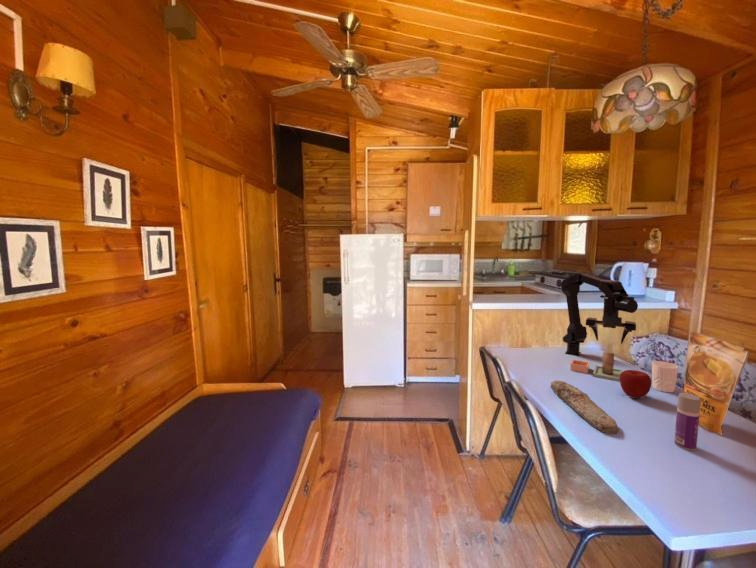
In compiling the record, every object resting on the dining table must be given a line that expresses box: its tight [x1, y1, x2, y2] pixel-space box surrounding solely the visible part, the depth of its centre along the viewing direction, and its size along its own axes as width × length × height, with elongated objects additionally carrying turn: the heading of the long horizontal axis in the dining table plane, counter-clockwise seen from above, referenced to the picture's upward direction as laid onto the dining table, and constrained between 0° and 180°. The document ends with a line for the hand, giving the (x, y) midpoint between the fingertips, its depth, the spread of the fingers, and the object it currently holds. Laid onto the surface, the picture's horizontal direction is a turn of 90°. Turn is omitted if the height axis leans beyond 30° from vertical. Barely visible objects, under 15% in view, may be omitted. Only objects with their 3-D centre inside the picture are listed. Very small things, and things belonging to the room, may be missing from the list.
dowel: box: [601, 351, 615, 375], centre depth 147 cm, size 4×4×9 cm
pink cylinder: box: [651, 360, 679, 393], centre depth 132 cm, size 8×8×10 cm
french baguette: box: [550, 380, 619, 435], centre depth 120 cm, size 35×5×10 cm
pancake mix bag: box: [683, 331, 749, 436], centre depth 107 cm, size 7×19×28 cm, turn 172°
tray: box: [592, 365, 623, 382], centre depth 147 cm, size 12×10×2 cm
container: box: [673, 392, 700, 451], centre depth 96 cm, size 5×5×15 cm
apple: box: [619, 369, 652, 399], centre depth 127 cm, size 10×10×10 cm
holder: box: [569, 359, 591, 374], centre depth 154 cm, size 7×7×4 cm
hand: (609, 342), depth 154 cm, fingers open, 9 cm apart
